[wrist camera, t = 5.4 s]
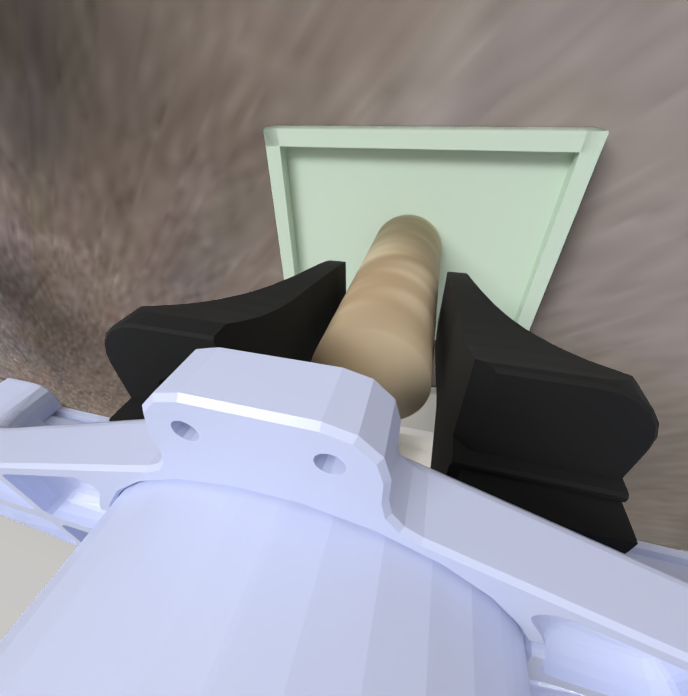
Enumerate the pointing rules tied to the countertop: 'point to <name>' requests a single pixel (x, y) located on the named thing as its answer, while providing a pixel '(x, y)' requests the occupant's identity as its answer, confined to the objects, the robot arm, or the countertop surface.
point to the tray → (435, 198)
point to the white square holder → (419, 432)
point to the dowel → (391, 313)
